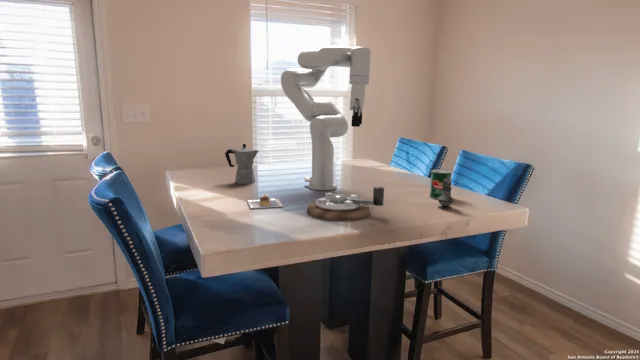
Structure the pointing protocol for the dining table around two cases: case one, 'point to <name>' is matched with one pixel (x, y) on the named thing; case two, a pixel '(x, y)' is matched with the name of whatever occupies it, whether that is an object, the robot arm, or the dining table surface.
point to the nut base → (338, 213)
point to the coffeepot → (243, 164)
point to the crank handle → (349, 201)
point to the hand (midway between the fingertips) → (356, 125)
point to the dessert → (264, 202)
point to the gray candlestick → (446, 195)
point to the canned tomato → (438, 182)
